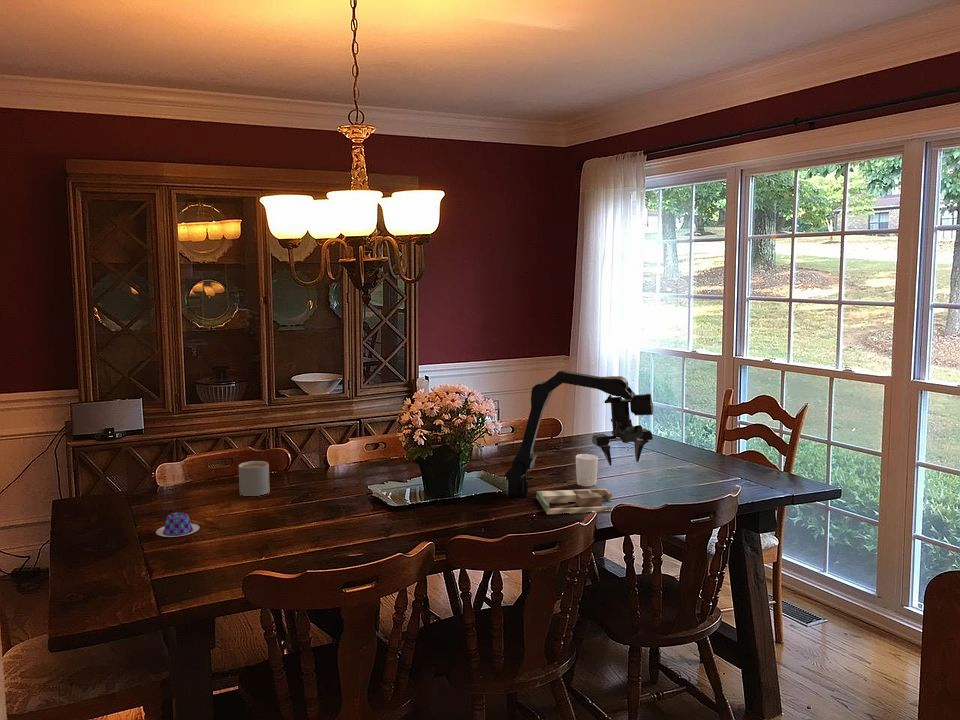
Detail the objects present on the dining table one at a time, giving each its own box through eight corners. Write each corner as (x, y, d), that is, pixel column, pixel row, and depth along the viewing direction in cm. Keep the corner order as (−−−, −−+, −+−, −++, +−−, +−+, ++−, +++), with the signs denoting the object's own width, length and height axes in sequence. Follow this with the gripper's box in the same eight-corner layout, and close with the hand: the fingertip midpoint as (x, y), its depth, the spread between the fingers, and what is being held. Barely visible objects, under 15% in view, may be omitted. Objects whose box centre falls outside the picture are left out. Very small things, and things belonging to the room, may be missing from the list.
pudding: (149, 532, 234) (148, 515, 233) (188, 522, 243) (187, 506, 242) (167, 542, 226) (166, 524, 225) (206, 532, 234) (206, 514, 234)
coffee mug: (270, 495, 270) (269, 466, 268) (239, 498, 267) (238, 469, 266) (268, 485, 282) (267, 457, 281) (239, 487, 279) (238, 459, 278)
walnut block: (581, 510, 253) (581, 498, 253) (576, 505, 258) (576, 493, 258) (601, 509, 255) (602, 496, 254) (596, 504, 260) (596, 492, 259)
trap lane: (547, 514, 249) (547, 506, 248) (536, 498, 265) (536, 491, 265) (621, 511, 252) (621, 503, 251) (606, 495, 268) (606, 488, 268)
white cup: (580, 487, 278) (580, 460, 277) (572, 482, 286) (572, 454, 284) (601, 486, 280) (601, 458, 279) (592, 480, 288) (592, 453, 286)
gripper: (601, 423, 246) (604, 472, 248) (657, 416, 249) (661, 465, 251) (589, 417, 257) (593, 465, 258) (644, 411, 260) (647, 458, 262)
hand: (623, 463), depth 257 cm, fingers open, 9 cm apart
